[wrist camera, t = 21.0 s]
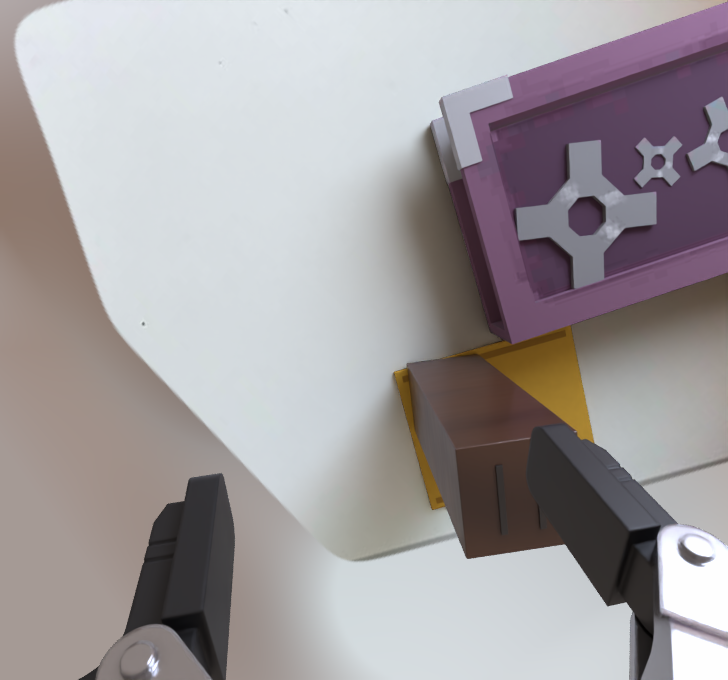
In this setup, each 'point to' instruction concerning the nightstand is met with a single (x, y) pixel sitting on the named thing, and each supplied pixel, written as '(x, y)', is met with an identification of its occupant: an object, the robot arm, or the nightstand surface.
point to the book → (594, 176)
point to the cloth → (522, 385)
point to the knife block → (481, 452)
